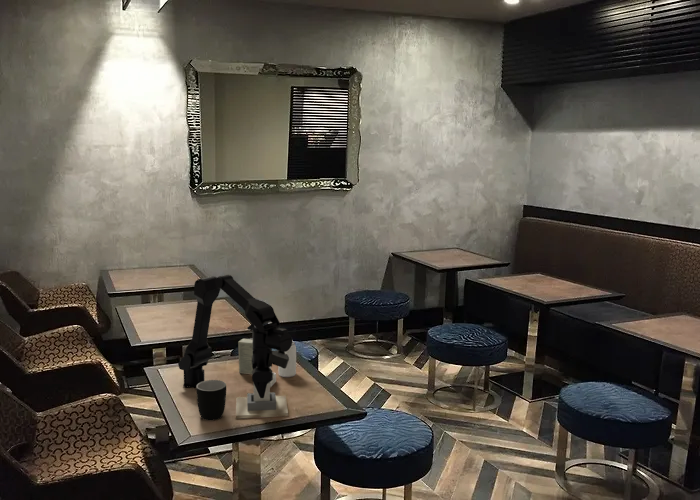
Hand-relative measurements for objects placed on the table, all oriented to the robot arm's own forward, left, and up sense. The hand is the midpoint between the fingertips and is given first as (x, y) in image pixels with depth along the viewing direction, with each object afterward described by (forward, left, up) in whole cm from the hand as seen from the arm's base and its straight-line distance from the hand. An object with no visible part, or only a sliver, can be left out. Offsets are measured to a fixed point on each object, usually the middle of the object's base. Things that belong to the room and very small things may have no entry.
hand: (261, 392), depth 197 cm
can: (+10, +29, -6) cm, 31 cm away
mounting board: (0, 0, -5) cm, 5 cm away
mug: (-16, -3, -6) cm, 17 cm away
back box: (0, 0, -5) cm, 5 cm away
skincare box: (-4, +33, -6) cm, 34 cm away
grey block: (0, 0, -4) cm, 4 cm away
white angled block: (+3, +21, -6) cm, 22 cm away
